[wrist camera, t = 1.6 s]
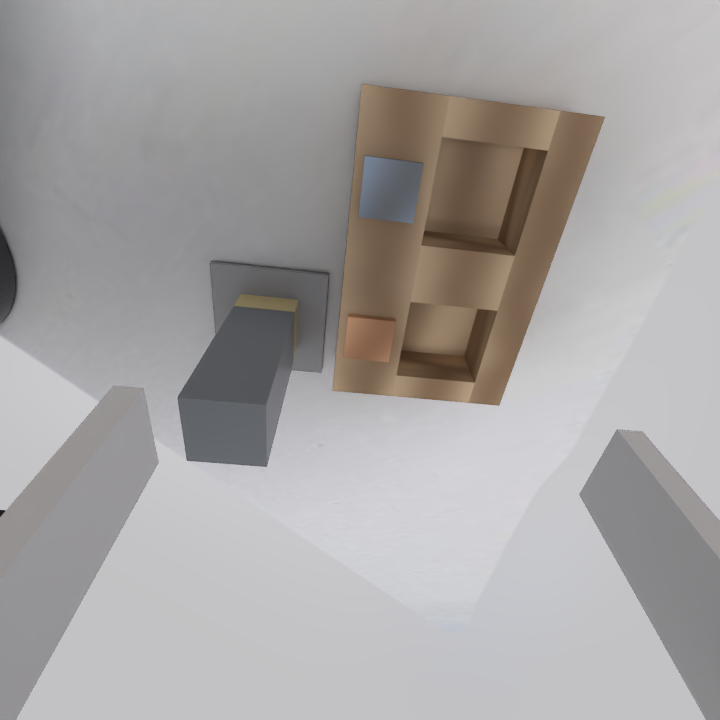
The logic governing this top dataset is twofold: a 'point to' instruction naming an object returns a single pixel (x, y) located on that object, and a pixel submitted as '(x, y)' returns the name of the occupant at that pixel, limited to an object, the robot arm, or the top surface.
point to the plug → (241, 384)
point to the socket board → (451, 239)
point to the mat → (278, 284)
